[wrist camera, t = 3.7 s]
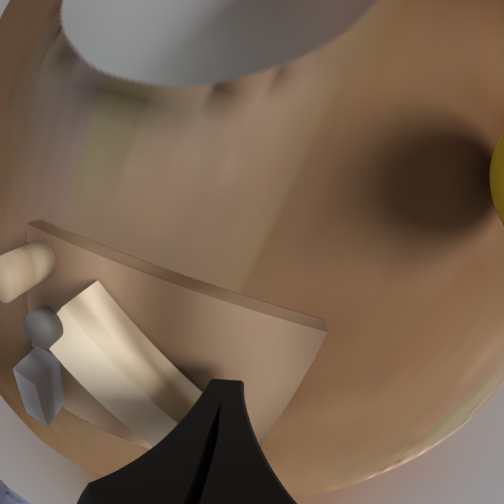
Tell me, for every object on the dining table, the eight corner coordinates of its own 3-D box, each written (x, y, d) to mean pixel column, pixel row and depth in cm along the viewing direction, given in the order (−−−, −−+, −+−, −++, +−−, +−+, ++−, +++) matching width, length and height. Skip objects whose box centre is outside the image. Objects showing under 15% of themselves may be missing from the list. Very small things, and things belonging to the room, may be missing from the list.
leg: (61, 296, 11) (15, 330, 7) (87, 266, 10) (36, 299, 7) (199, 435, 12) (187, 484, 9) (236, 421, 12) (229, 475, 9)
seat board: (49, 387, 14) (20, 421, 10) (40, 219, 11) (-19, 239, 7) (240, 463, 15) (235, 512, 11) (323, 319, 12) (344, 382, 8)
